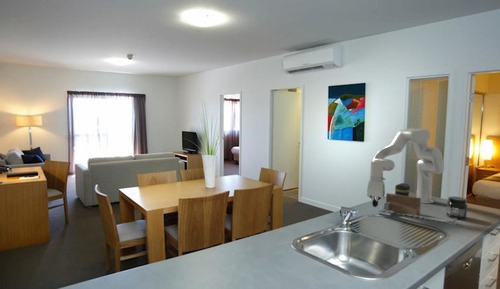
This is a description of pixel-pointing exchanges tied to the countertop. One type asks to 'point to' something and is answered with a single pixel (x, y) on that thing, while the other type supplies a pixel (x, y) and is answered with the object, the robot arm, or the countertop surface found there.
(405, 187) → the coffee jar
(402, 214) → the grey rail
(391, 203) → the walnut screen
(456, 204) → the supplement container
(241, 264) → the countertop surface
